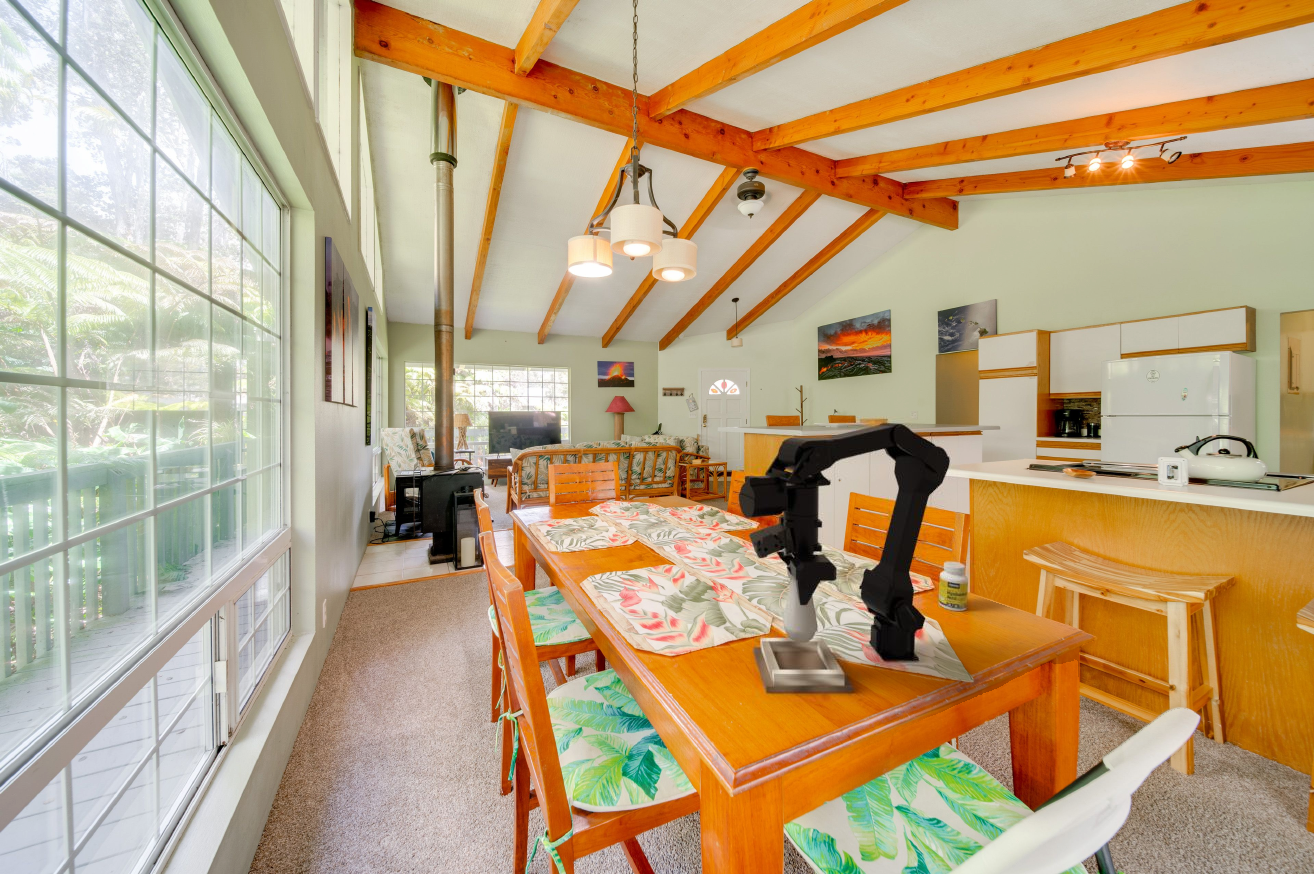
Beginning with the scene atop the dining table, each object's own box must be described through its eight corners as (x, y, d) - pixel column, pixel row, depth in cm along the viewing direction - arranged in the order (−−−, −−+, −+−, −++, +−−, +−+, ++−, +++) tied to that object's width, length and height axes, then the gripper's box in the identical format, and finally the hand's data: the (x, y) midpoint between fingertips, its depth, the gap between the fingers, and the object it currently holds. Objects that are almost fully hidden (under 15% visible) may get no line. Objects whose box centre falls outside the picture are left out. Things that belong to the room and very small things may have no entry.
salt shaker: (819, 646, 79) (820, 571, 77) (783, 643, 80) (784, 569, 79) (814, 629, 84) (815, 559, 83) (781, 626, 86) (782, 557, 84)
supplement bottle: (944, 611, 104) (946, 568, 103) (934, 600, 109) (936, 559, 108) (971, 612, 103) (973, 569, 102) (959, 601, 108) (961, 560, 108)
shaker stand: (828, 652, 88) (828, 636, 88) (853, 692, 76) (853, 674, 76) (753, 652, 89) (753, 636, 88) (766, 692, 77) (766, 674, 77)
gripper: (744, 500, 90) (745, 579, 91) (763, 528, 71) (763, 627, 73) (803, 499, 89) (803, 579, 91) (838, 527, 71) (837, 627, 72)
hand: (800, 600), depth 82 cm, fingers closed on salt shaker, 3 cm apart
